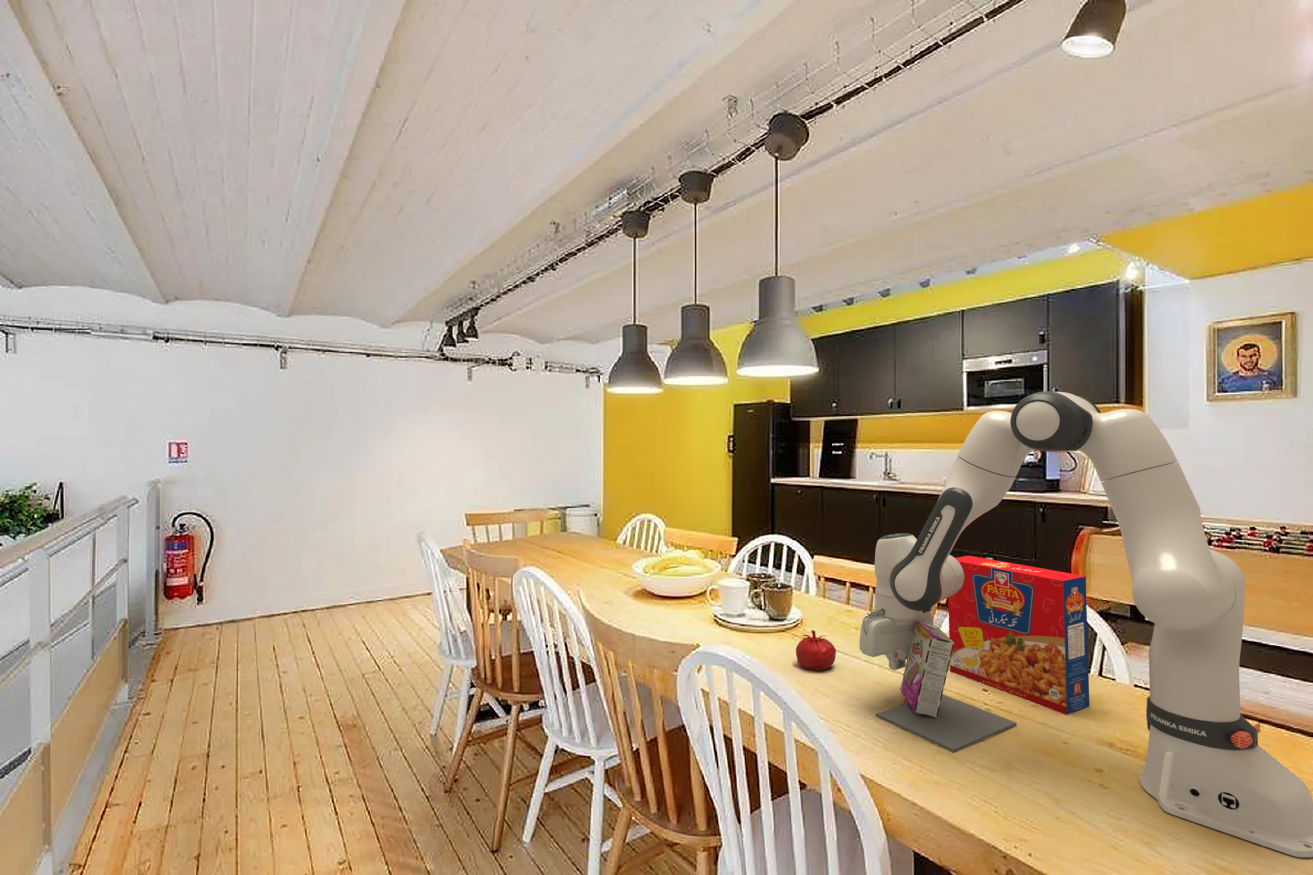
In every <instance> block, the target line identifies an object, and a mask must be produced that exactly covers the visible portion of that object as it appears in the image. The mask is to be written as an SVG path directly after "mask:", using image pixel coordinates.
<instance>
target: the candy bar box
mask: <svg viewBox="0 0 1313 875" xmlns="http://www.w3.org/2000/svg"><path fill="white" fill-rule="evenodd" d="M953 646H954V642H953V641H952V640H951V639H950V638H949V635H946V634H945V633H944V632H943V630H941V629H940V628H939V627H938V625H936V624H935V625H934V624H933V625H932V624H928V623H923V622H920V621H915V626H914V630H913V636H912V642H911V647H910V648H909V653H908V658H907V660H906V666H905V667H904V671H903V677H902V681H901V685H900V689H899V691H900V692H901V694H902V696H903V697H904V698H905V700H906V702H907V703H909V704H910V706H911V707H912V709H913V710H914V712H915V713H918V714H921V715H926V716H930V717H934V718H937V716H938V711H939V707H940V703H941V699H942V694H943V695H944V689H945V685H946V681H947V680H946V679H947V676H948V672H949V669H950V659H951V654H952V650H953Z"/></svg>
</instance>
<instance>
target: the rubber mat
mask: <svg viewBox="0 0 1313 875" xmlns="http://www.w3.org/2000/svg"><path fill="white" fill-rule="evenodd" d="M875 717H877V718H879V719H881V720H884V721H885V722H887V723H888V724H889V723H890V724H892V725H893V726H895V727H898V728H900V729H902V730H904V731H906V732H909V733H911V734H912V735H915V736H917V737H919V738H922V739H924V740H926V741H928V742H930V743H932V744H935V745H936V746H938V747H941V748H943V749H945V750H947V751H949V752H951V753H952V754H953V753H956V752H958V751H960V750H963V749H966V748H967V747H970V746H972V745H975V744H977V743H980V742H981V741H984V740H987V739H988V738H991V737H993V736H995V735H998V734H1000V733H1003V732H1006V731H1007V730H1009V729H1012V728H1015V727H1017V722H1016V721H1014V720H1011V719H1008V718H1005V717H1002V716H1000V715H998V714H995V713H992V712H991V711H990V712H989V711H987V710H985V709H982V708H979V707H976V706H974V705H971V704H969V703H967V702H964V701H962V700H959V699H956V698H954V697H951V696H948V695H945V694H944V693H943V694H942V699H941V703H940V707H939V711H938V716H937V718H934V717H930V716H926V715H921V714H918V713H915V712H914V710H913V709H912V707H911V706H910V704H909V703H908V702H905V703H903V704H899V705H897V706H893V707H889V708H887V709H885V710H882V711H879V712H876V713H875Z"/></svg>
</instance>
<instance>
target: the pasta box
mask: <svg viewBox="0 0 1313 875" xmlns="http://www.w3.org/2000/svg"><path fill="white" fill-rule="evenodd" d="M955 558H956V559H957V560H958V561H959V563H960V564H961V566H962V568H963V570H964V575H965V580H964V584H963V586H962V588H961V589H960V590H959V591H958V592H956V593H955V594H954V595H952V596H950V597H948V598H947V603H948V606H947V607H948V637H949V638H950V639H951V640H952V641H953V642H954V646H953V650H952V654H951V659H950V664H949V672H950V673H953V674H955V673H956V674H955V675H958V676H961V677H964V678H966V679H968V680H972V681H974V682H977V683H979V682H980V684H983V685H985V686H988V687H991V688H994V689H995V690H998V691H1001V692H1004V691H1005V692H1004V693H1006V692H1007V694H1009V695H1012V696H1014V697H1017V696H1018V697H1017V698H1020V697H1021V698H1020V699H1022V698H1023V700H1026V701H1028V700H1029V701H1028V702H1030V701H1031V703H1033V702H1034V704H1036V705H1039V706H1041V705H1042V707H1044V708H1047V709H1050V710H1053V711H1055V712H1058V713H1059V714H1060V713H1061V714H1063V715H1066V716H1069V715H1071V714H1074V713H1076V712H1079V711H1082V710H1084V709H1088V708H1090V679H1089V677H1090V676H1089V675H1090V674H1089V646H1088V645H1089V643H1088V640H1089V639H1088V638H1089V637H1088V611H1087V610H1088V608H1087V606H1088V605H1087V604H1088V603H1087V577H1086V575H1081V574H1075V573H1069V572H1064V571H1058V570H1053V569H1052V570H1051V569H1047V568H1041V567H1036V566H1029V565H1024V564H1018V563H1012V562H1008V561H1007V562H1006V561H1001V560H994V559H989V558H983V557H978V556H973V555H972V556H971V555H964V556H959V557H955Z"/></svg>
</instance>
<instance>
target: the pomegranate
mask: <svg viewBox="0 0 1313 875" xmlns="http://www.w3.org/2000/svg"><path fill="white" fill-rule="evenodd" d="M810 632H811V634H812V637H811V636H810V635H808V634H802V636H803V639H801V640H800V641H799V642H798V644H797V645H796V647H795V656H796V660H797V663H798V665H799V666H800V667H802V668H804V669H808V670H811V671H812V670H815V671H825V670H827V669H829V668H831V666H833V664H834V663H835V661H836V655H837V654H836V653H837V650H836V647H835V645H833V643H832V642H831V641H829V640H828V639H826V638H823V637H825V635H820V636H818V637H817V636H816V635H817V634H816V631H815V630H814V629H811V631H810Z"/></svg>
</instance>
